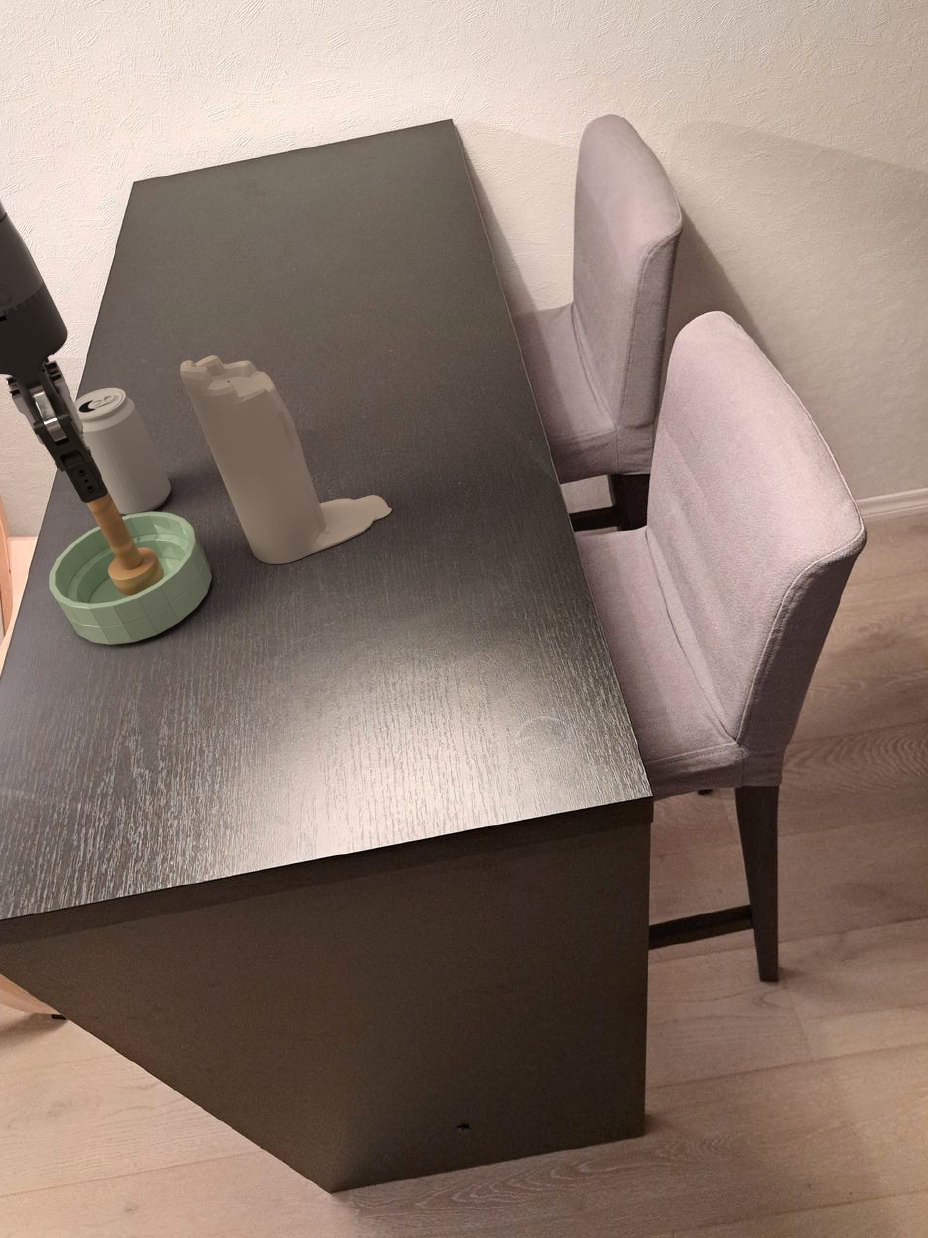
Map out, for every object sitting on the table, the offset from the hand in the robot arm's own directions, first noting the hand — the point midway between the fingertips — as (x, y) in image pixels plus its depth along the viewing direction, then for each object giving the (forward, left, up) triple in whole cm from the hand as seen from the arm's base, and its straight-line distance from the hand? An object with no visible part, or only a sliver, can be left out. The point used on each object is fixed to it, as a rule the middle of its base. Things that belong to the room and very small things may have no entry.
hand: (92, 489), depth 78 cm
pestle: (0, 0, -10) cm, 10 cm away
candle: (+12, -12, -13) cm, 21 cm away
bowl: (0, +1, -13) cm, 13 cm away
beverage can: (+14, +10, -13) cm, 22 cm away
